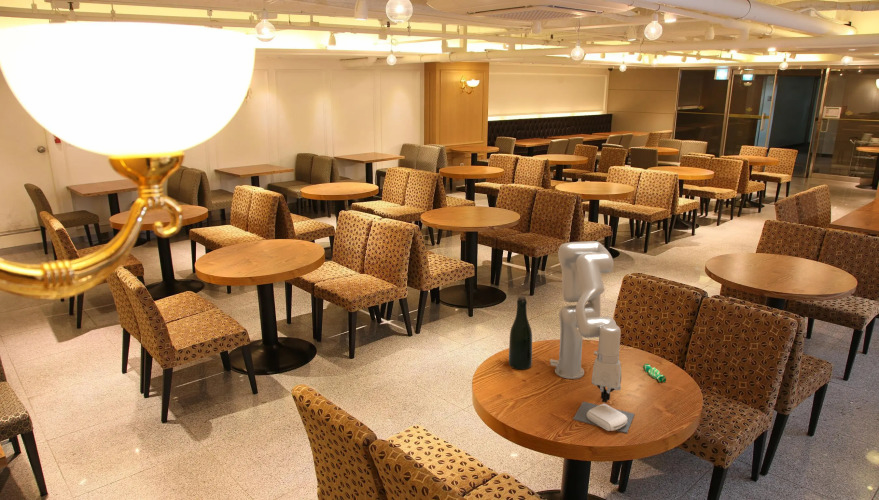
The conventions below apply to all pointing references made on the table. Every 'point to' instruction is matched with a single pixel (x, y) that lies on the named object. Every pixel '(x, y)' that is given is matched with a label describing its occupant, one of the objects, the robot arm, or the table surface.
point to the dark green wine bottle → (520, 338)
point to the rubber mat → (582, 417)
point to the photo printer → (607, 417)
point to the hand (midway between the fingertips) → (605, 400)
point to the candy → (654, 373)
